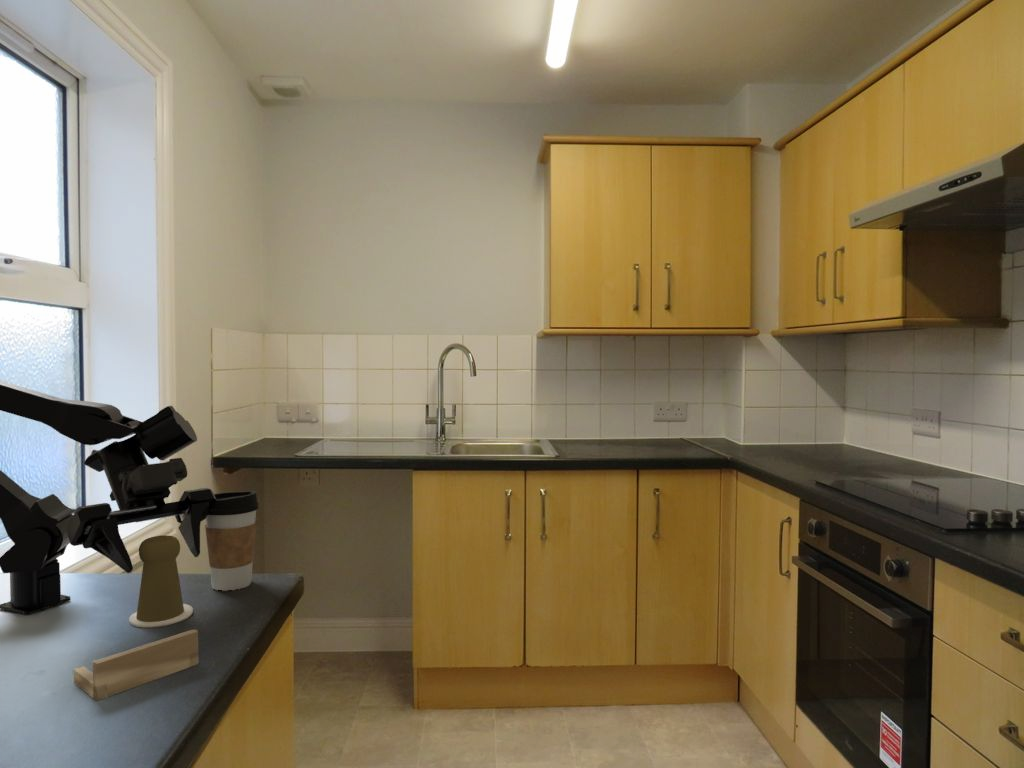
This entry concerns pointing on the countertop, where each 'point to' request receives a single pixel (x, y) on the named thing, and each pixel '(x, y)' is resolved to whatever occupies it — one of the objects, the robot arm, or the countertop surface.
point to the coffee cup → (231, 539)
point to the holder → (138, 665)
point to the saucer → (187, 613)
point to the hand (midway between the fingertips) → (165, 562)
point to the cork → (159, 580)
